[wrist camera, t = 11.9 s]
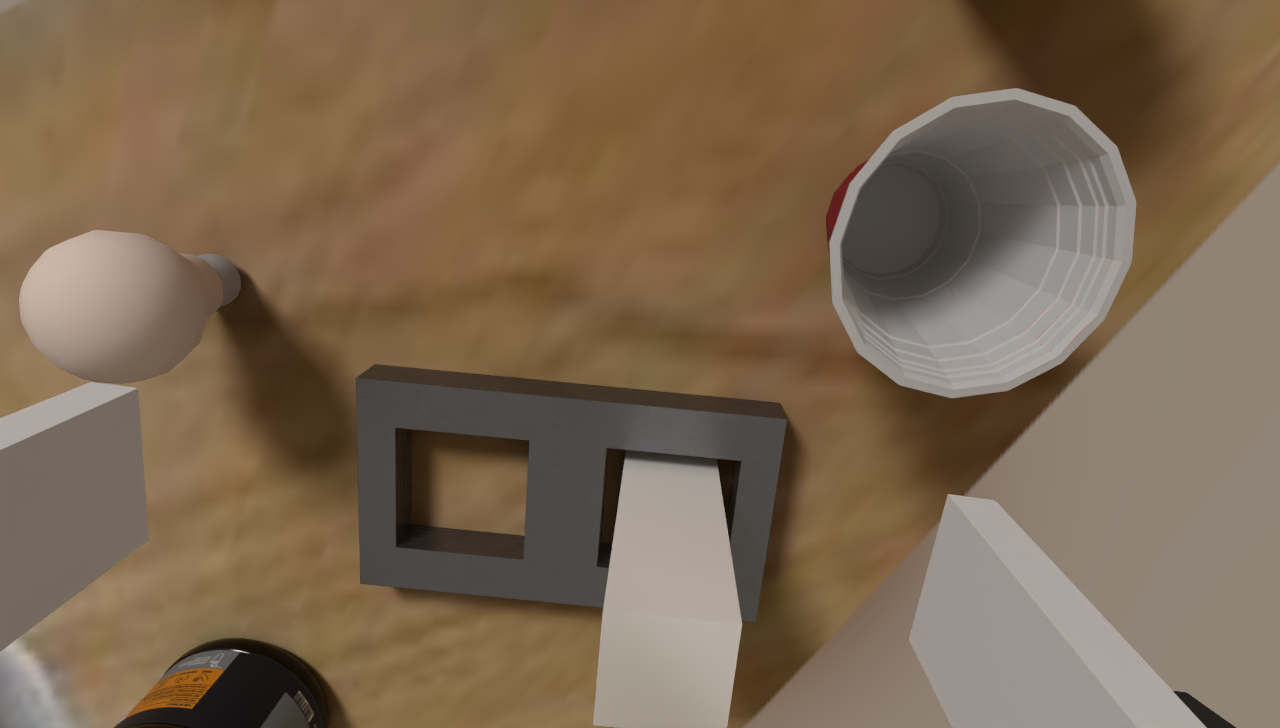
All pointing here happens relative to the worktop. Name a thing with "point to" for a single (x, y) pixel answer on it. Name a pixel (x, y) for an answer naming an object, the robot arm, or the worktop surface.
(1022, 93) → the plastic cup
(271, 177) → the worktop surface
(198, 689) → the supplement container
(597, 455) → the rail plate
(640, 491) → the square post
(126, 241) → the light bulb
